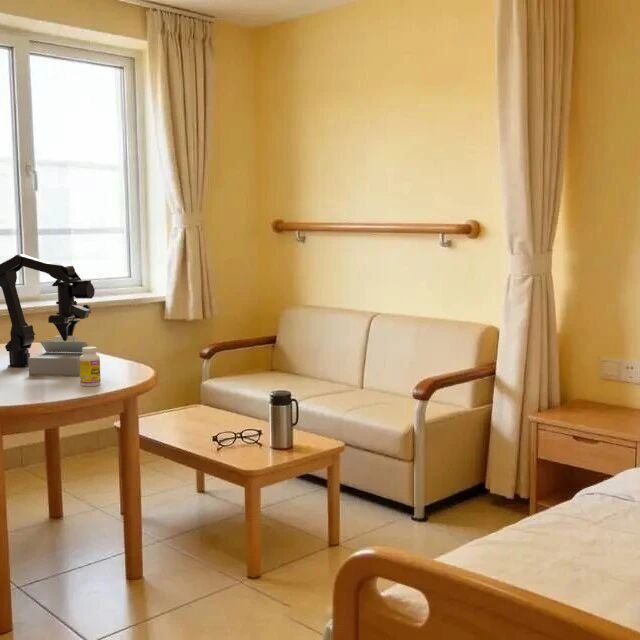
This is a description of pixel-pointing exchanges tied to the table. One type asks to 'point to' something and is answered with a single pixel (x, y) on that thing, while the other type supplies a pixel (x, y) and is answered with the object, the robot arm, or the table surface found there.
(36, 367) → the cabinet
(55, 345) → the rear flap
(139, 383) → the table surface
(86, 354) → the supplement bottle
